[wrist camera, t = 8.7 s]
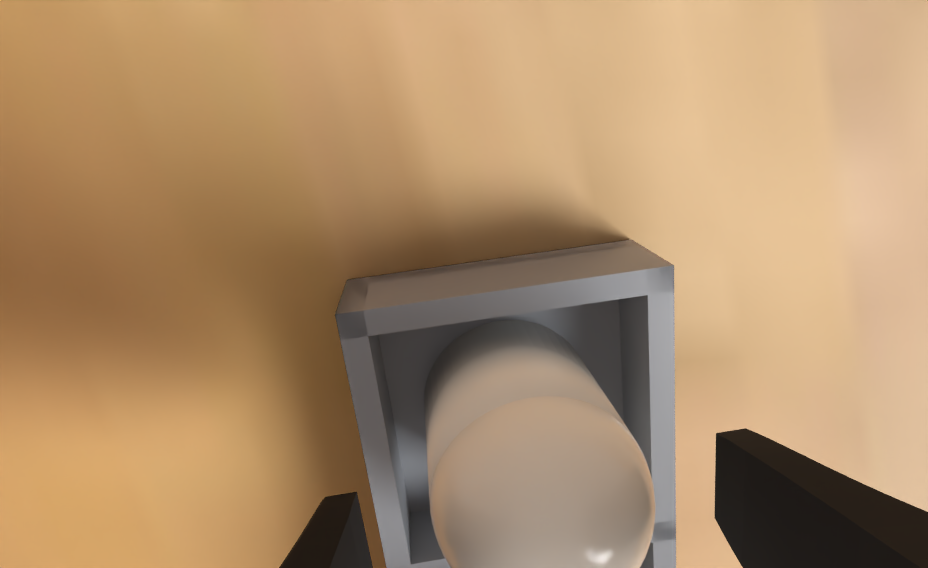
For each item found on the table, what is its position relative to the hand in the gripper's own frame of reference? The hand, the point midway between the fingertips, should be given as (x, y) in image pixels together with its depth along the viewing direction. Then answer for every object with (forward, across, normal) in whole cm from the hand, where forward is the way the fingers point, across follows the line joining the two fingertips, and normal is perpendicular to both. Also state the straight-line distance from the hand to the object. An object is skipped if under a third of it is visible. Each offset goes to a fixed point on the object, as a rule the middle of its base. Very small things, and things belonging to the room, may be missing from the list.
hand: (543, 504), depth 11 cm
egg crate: (+5, 0, +7) cm, 8 cm away
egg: (+4, 0, 0) cm, 4 cm away
